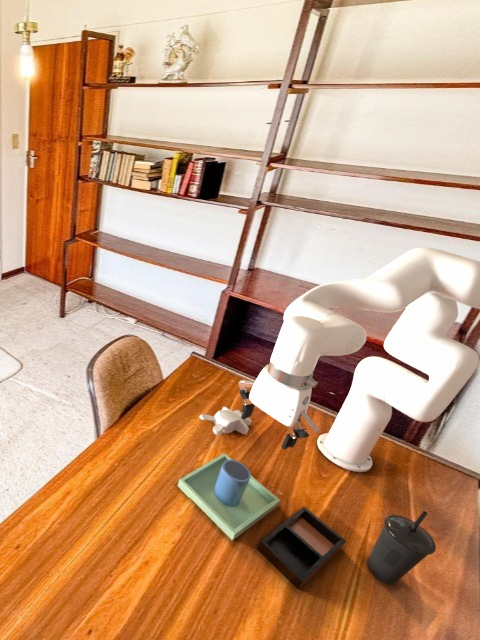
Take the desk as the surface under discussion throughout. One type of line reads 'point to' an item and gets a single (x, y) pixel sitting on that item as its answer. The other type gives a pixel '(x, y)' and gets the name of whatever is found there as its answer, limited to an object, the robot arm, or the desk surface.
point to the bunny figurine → (228, 421)
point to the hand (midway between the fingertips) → (265, 431)
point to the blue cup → (231, 482)
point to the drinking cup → (399, 548)
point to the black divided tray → (301, 546)
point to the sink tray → (227, 518)
